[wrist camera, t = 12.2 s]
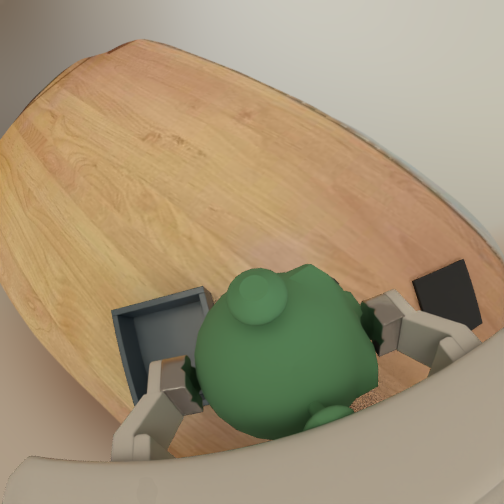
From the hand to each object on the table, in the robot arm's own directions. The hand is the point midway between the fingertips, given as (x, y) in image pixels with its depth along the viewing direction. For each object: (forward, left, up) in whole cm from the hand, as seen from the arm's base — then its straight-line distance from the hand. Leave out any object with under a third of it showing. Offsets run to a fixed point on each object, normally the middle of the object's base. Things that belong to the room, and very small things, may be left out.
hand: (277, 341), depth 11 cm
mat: (-4, -22, -19) cm, 30 cm away
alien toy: (-1, 0, -6) cm, 6 cm away
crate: (+1, +9, -19) cm, 21 cm away
